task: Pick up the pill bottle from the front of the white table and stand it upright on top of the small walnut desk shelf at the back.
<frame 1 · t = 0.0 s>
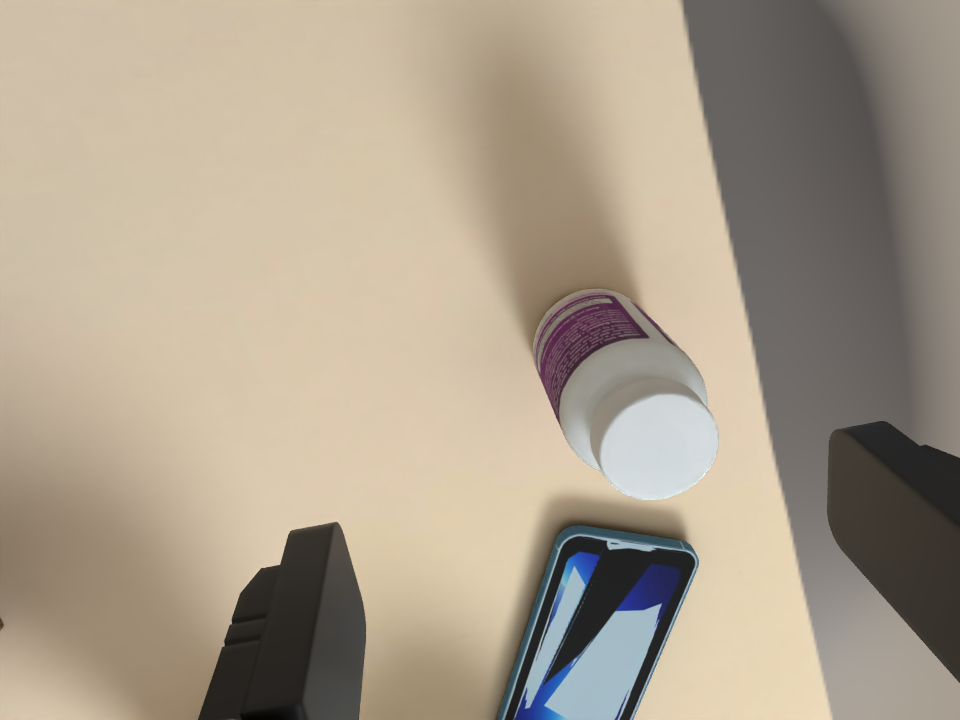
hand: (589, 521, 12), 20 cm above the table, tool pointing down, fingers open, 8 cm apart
pill bottle: (589, 342, 32), on the table
smartphone: (586, 642, 38), on the table
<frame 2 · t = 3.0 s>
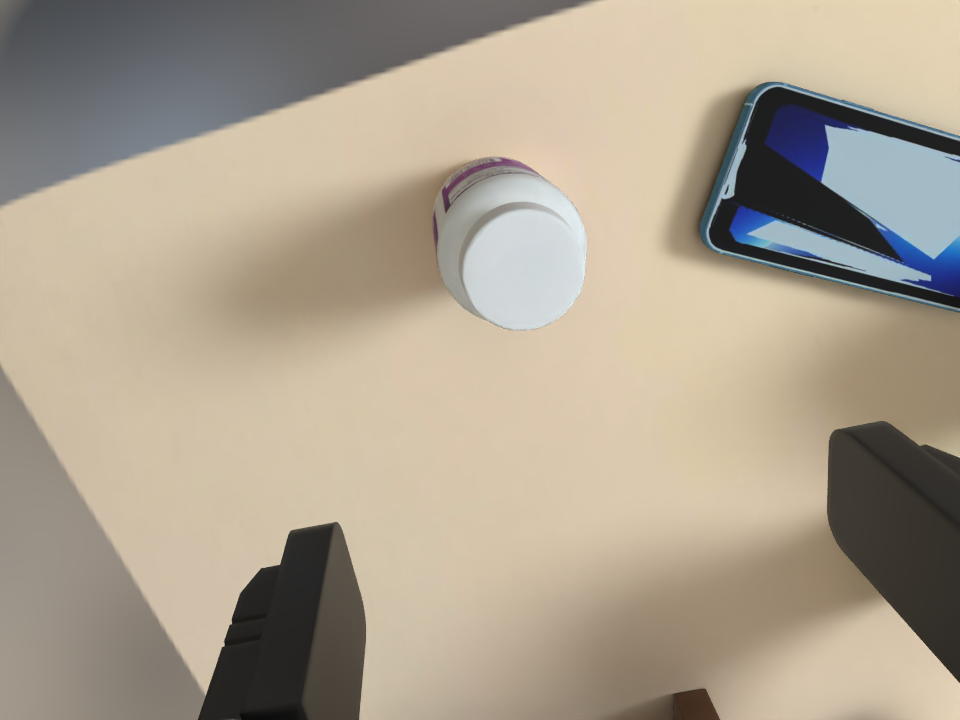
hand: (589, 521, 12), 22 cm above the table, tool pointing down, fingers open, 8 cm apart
pill bottle: (492, 216, 32), on the table
smartphone: (866, 203, 33), on the table
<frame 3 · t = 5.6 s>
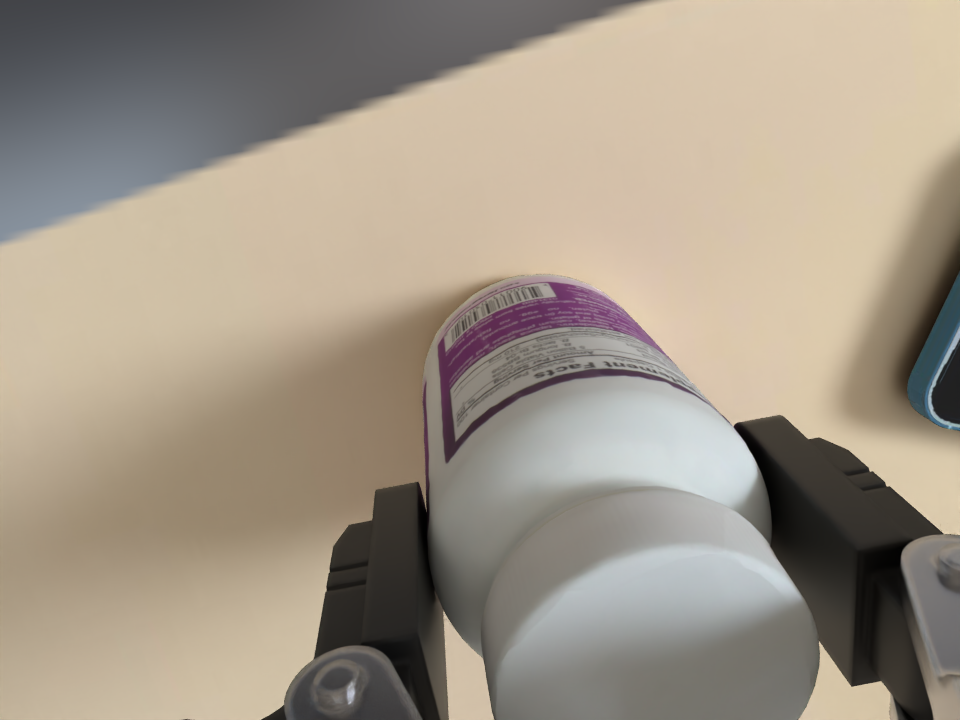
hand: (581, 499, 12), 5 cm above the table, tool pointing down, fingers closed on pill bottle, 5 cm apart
pill bottle: (532, 371, 18), on the table, touching gripper
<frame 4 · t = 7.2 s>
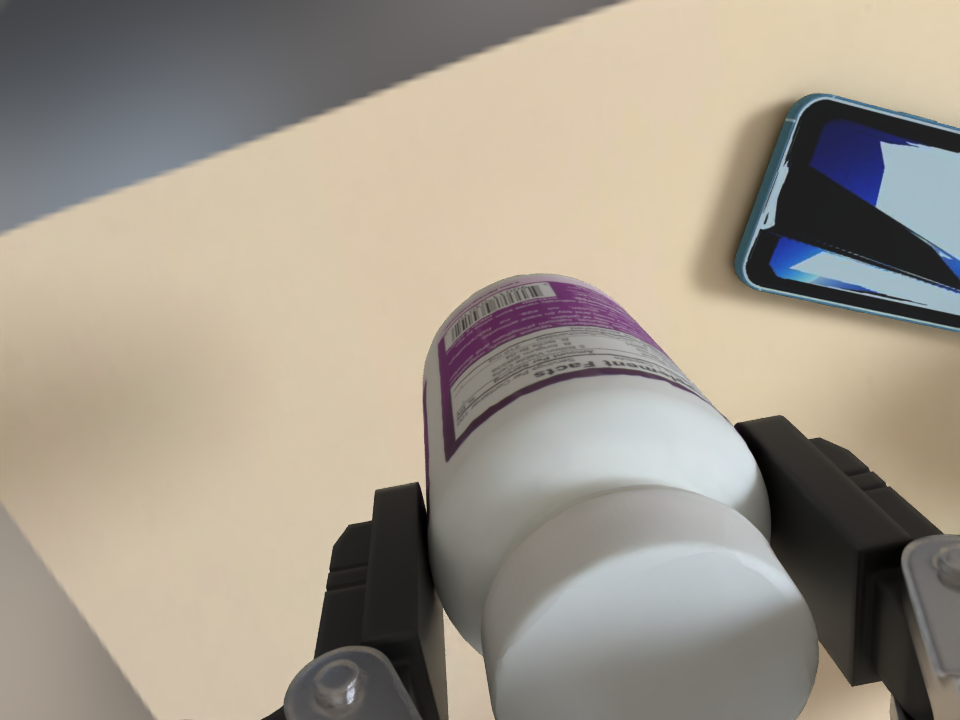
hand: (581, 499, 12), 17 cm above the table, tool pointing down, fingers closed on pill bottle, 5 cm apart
pill bottle: (532, 370, 18), point 11 cm above the table, touching gripper
smartphone: (926, 227, 29), on the table
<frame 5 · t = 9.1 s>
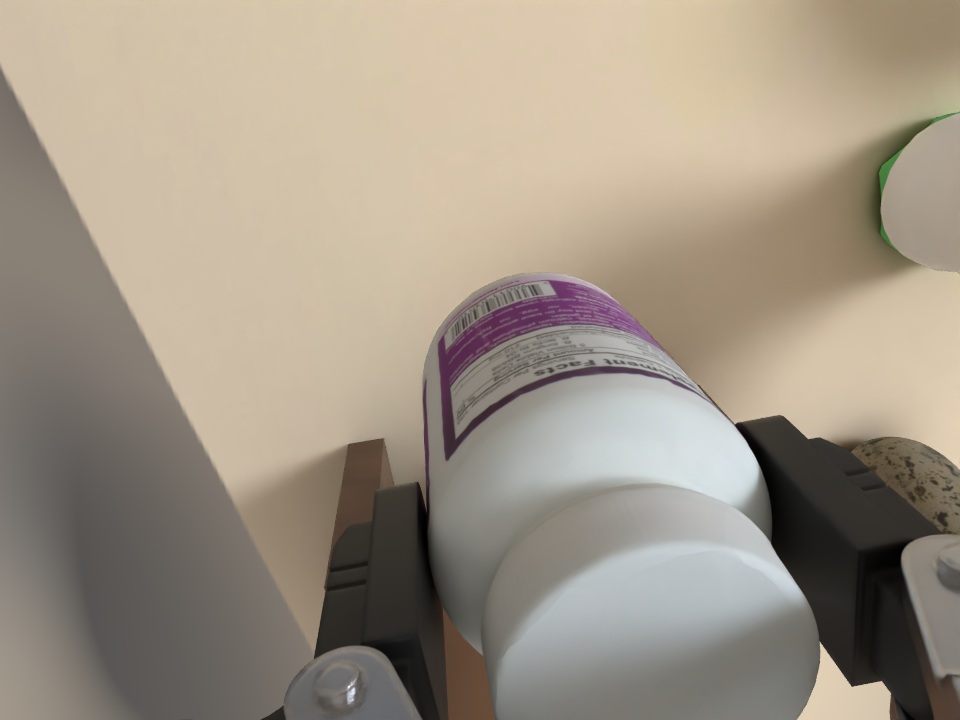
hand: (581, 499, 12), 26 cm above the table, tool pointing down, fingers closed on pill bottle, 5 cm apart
cup: (935, 186, 38), on the table
pill bottle: (532, 369, 18), point 20 cm above the table, touching gripper
desk shelf: (536, 503, 43), on the table
decorative egg: (861, 459, 44), on the table
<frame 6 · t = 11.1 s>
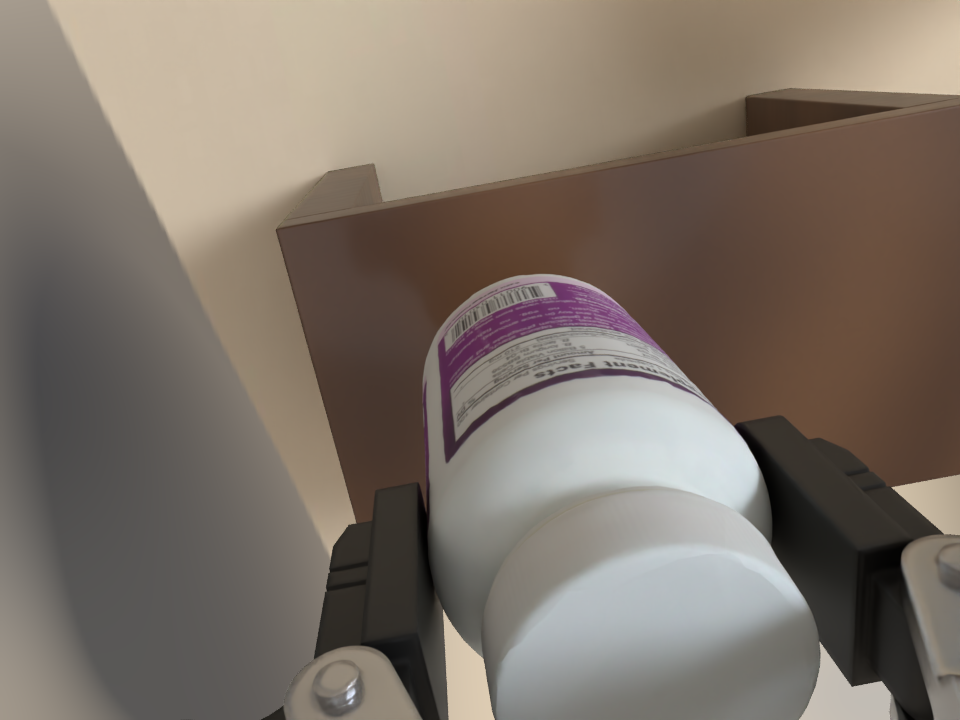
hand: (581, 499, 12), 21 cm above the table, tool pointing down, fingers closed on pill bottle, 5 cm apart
pill bottle: (532, 371, 18), point 16 cm above the table, touching gripper
desk shelf: (576, 265, 33), on the table
when the fingers open (17 cm above the table, at t = 12.5 s): pill bottle stays where it is, resting on desk shelf.
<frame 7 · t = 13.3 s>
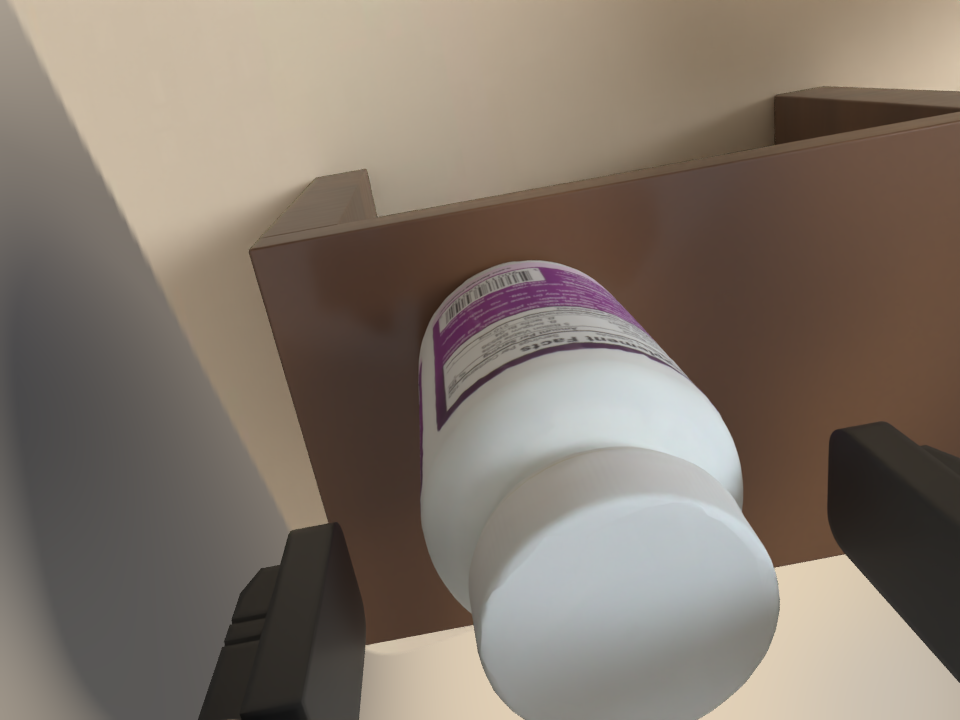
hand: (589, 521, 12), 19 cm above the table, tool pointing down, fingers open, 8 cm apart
pill bottle: (524, 354, 18), point 12 cm above the table, touching desk shelf
desk shelf: (587, 279, 30), on the table
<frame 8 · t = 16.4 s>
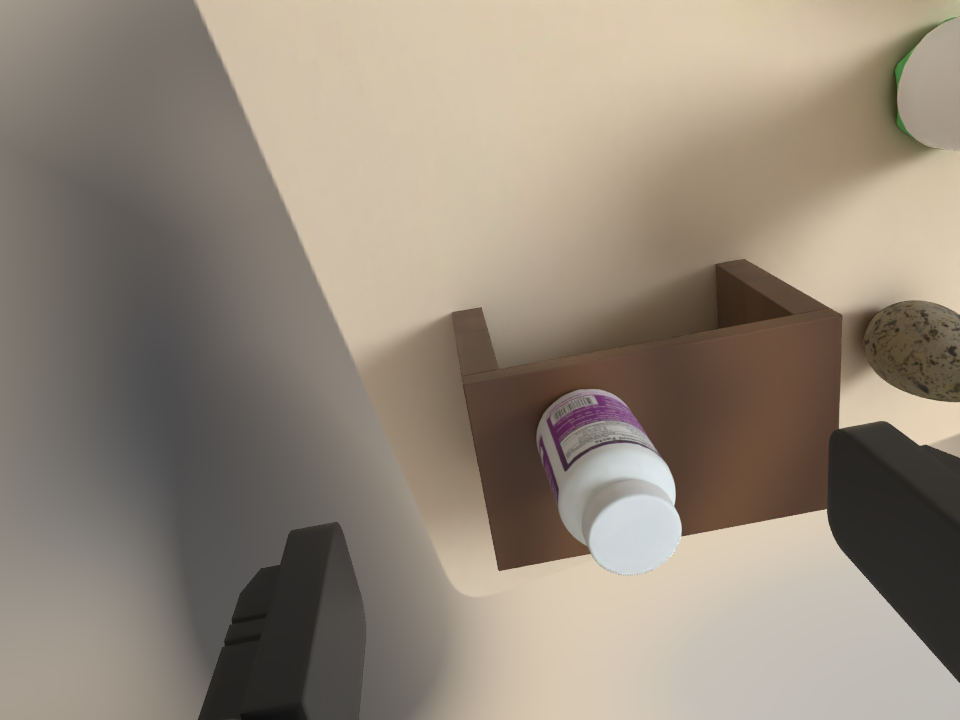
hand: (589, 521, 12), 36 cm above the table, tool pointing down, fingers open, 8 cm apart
cup: (942, 83, 45), on the table
pill bottle: (583, 428, 39), point 12 cm above the table, touching desk shelf
desk shelf: (607, 366, 50), on the table
decorative egg: (882, 327, 51), on the table
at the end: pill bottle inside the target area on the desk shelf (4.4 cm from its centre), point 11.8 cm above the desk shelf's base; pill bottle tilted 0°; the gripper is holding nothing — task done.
